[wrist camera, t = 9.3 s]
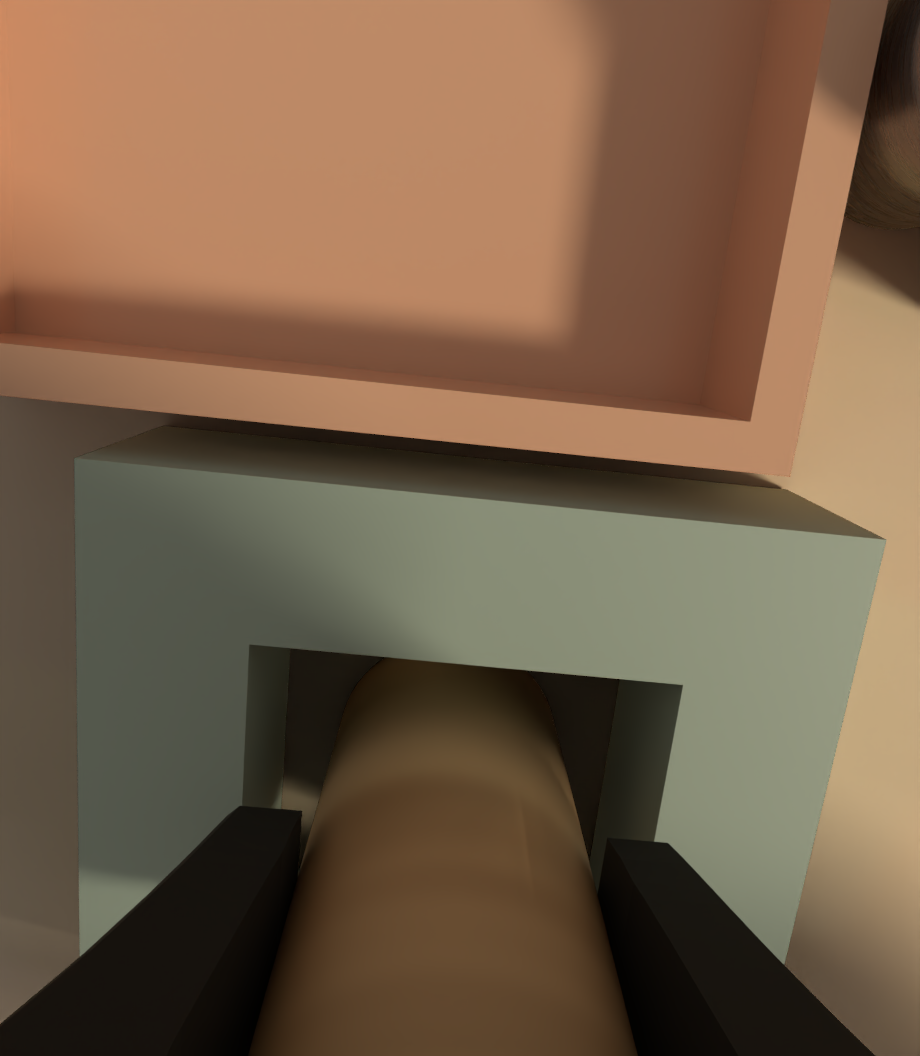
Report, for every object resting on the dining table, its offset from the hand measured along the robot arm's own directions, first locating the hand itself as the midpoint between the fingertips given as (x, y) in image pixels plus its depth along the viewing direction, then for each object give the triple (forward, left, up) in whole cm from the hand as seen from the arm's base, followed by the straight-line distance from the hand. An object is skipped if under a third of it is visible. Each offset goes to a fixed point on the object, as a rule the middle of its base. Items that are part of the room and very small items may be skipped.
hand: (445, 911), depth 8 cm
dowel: (0, 0, -3) cm, 3 cm away
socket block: (0, 0, -3) cm, 3 cm away
